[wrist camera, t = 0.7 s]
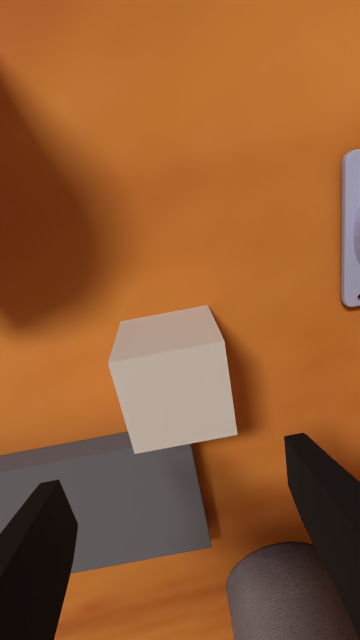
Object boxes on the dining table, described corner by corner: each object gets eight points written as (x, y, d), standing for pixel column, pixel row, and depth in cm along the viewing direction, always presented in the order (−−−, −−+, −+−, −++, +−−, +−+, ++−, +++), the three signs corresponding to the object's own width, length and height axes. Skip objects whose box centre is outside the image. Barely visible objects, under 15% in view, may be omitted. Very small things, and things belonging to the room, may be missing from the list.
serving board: (186, 420, 21) (188, 436, 19) (208, 527, 24) (211, 547, 23) (-26, 460, 21) (-39, 479, 19) (27, 561, 24) (19, 583, 23)
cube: (207, 304, 18) (224, 341, 14) (219, 379, 20) (237, 434, 15) (121, 320, 18) (107, 362, 14) (140, 394, 20) (134, 453, 15)
